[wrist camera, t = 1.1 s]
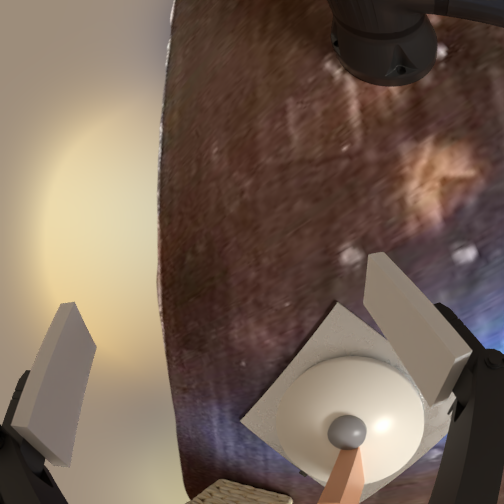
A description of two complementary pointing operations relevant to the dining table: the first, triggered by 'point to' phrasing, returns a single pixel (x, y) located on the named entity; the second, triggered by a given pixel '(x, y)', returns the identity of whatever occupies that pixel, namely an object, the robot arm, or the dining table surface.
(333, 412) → the dial
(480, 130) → the dining table surface
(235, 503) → the storage basket
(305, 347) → the base plate
